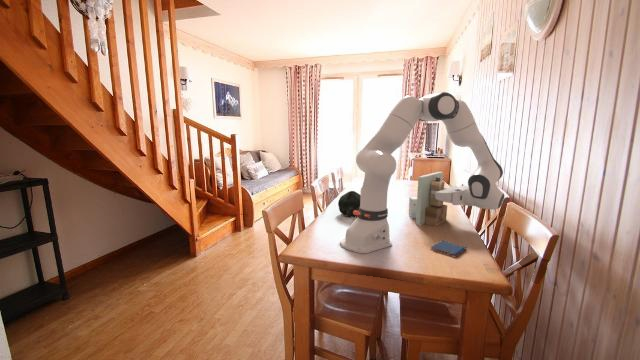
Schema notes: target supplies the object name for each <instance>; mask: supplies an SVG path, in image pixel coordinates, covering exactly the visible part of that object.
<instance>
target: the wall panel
mask: <svg viewBox="0 0 640 360" xmlns="http://www.w3.org/2000/svg"><path fill="white" fill-rule="evenodd" d="M436 177H440V181H444V180H443V179H444V172H443V171H436V172H432V173H429V174H428V173H427V174H424V175H421V176H418V179H417V181H418V182H417V196H416V197H417V212H416V218H415V225H416V226H422V225H424V224H426V223H425V209H426V207H429V206H431V205H430V192H431V181H435V180H436Z"/></svg>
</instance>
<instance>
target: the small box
mask: <svg viewBox="0 0 640 360" xmlns="http://www.w3.org/2000/svg"><path fill="white" fill-rule="evenodd" d="M408 199H409V201H408V216H409V217H410V218H411V219H416V212H417V196H409V198H408Z"/></svg>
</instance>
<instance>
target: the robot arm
mask: <svg viewBox="0 0 640 360" xmlns="http://www.w3.org/2000/svg"><path fill="white" fill-rule="evenodd" d="M419 121H421V122H438V121H441V122H443V124H444V126H445V129H446V131H447V134H448V136H449V138H450V141H451V142H452V144H453V145H455V146H457V147H461V148H465V147H467V148H469V149H471V152H472V153H473V155H474V157H475V159H476V160H477V168H476V169H475V170H474V172H473V173H472V174H471V175H470V176H469V177H468V180H467V186H466V185H460V186H453V185H452V186H450V187H444V189H443V190H440V191H436V190H432V191H431V194H434V195H435V199H437V200H439V201H443V203H449V204H451V205H453V206H459V205H460V206H467V207H476V208H479V209H484V210H493V211H494V210H498V209H500V208H501V207H502V205H503V203H504V200H505V193H504V192H502V191H501V189H499V187H498V185H497V182H499V180H500V179H501V178H502V177H503V175H504V169H503V168H502V166H501V165H500V164H499V162H498V161H497V160H496V159H495V158H494V156H493V153H492V152H491V150H490V148H489V146H488V144H487V142H486V139H485V137H484V136H483V134H482V133H481V132H480V129H479V128H478V124H477V122H476V120H475V118H474V115H473V112H472V111H471V109H470V107H469V106H468V104H467V103H466V102H465V101H464V100H459V99H456V97H455V96H454V95H453V94H452V93H449V92H446V91H440V92H435V93H429V94H427V95H424V96H420V97H419V98H417V97H416V96H412V95H406V96H404V97H402V98H401V99H400V100H399V101H398V102H397V104H396V105H395V106H394V107H393V109H392V110H391V111H390V113H389V114H388V116H387V117H386V119H384V121H383V124H382V125H381V126H380V128H379V130H378V131H377V132H376V133H375V135H374V136H373V137H372V138H371V139H370V140H369V141H368V143H367V144H365V146H364V147H363V148H362V149H360V150H359V152H358V153H357V154H356V157H355V164H356V165H357V168H358V169H359V170H360V171H361V172H363V173H364V178H363V183H362V187H360V193H359V194H360V207H359V210H358V211H356V210H354V212H353V214H354V215H357V217H355V219H354V221H353V222H352V223H351V224H350V225H349V227H347V229H346V232H345V238H343V239H341V240H340V241H339V245H340V246H341V247H342V248H344V249H346V250H348V251H351V252H354V253H359V254H368V253H372V252H375V251H379V250H381V249H382V250H383V249H386V248H388V247H389V248H390V247H391V246H393V243H392V241H391V238H390V237H391V236H390V225H389V223H388V219H387V218H388V216H389V215H388V214H389V213H388V212H389V210H388V207H387V206H388V192H389V186H390V182H391V179H392V175H394V173H395V172H396V170H397V160H396V159H395V157H394V156H393V155H392V154H393V153H394V152H395V151H396V150H398V148H401V146H402V145H403V144H404V142H406V140H407V138H408V136H409V135H410V133H411V132H412V131H413V129H414V128H415V125H416V124H417V123H418V122H419Z"/></svg>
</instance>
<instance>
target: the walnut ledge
mask: <svg viewBox="0 0 640 360" xmlns="http://www.w3.org/2000/svg"><path fill="white" fill-rule="evenodd" d="M447 211H448V205H447V204H443V205H441V206H439V207H438V206H433V205H431V206H429V207H426V209H425V223H424V224H427V225H430V226H434V227H436V226H438V225H440V224H441V223H444V222H446V221H447V216H448V215H447V213H448V212H447Z"/></svg>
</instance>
